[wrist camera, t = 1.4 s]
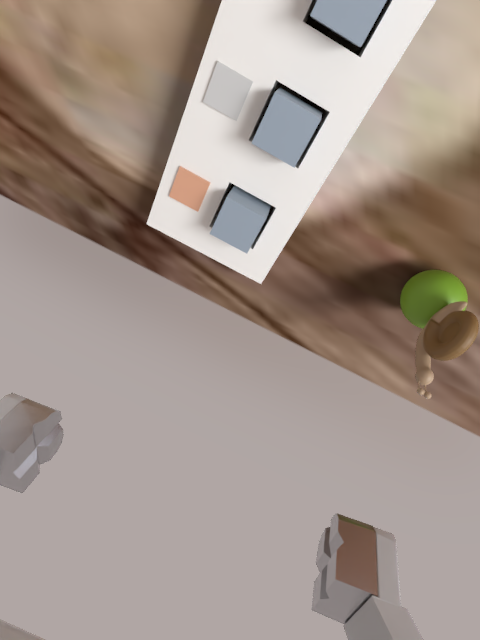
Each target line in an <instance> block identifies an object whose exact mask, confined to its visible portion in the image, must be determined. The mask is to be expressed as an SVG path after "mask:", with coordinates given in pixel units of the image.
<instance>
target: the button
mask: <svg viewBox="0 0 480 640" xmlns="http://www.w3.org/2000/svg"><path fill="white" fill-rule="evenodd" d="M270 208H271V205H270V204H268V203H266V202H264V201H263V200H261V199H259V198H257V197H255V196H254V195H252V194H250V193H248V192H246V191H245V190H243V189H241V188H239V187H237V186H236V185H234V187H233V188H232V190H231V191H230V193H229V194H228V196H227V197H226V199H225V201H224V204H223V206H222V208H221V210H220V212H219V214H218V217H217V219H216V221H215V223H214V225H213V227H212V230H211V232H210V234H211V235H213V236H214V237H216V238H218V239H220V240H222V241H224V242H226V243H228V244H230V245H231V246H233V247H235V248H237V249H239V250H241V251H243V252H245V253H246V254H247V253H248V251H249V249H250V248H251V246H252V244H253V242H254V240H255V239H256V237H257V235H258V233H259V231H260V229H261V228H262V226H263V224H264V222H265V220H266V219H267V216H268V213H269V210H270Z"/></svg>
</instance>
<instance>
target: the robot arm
mask: <svg viewBox="0 0 480 640" xmlns="http://www.w3.org/2000/svg"><path fill="white" fill-rule="evenodd" d="M61 419H62V418H61V412H60V411H58V410H55V409H53V408H50V407H48V406H45V405H42V404H40V403H37V402H34V401H32V400H29V399H27V398H24V397H22V396H19V395H16V394H13V393H11V394H9V395H6V396H4V397H3V398H2V399H1V400H0V485H1V486H4V487H7V488H10V489H12V490H15V491H18V492H20V493H23V492H24V491H25V490H26V488H27V487H28V486H29V485H30V484H31V483H32V481H33V480H34V479H35V478H36V477H37V475H38V474H39V471H40V464H43V463H45V462H47V461H49V460H51V458H52V457H53V456H54V455H55V453H56V452H57V450H58V449H59V447H60V445H61V443H62V439H63V429H62V427H61V426H60V425H59V422H60V421H61ZM316 565H317V567H318V569H319V571H320V574H319V576H318V577H317V578H316V580H315V581H314V590H313V602H312V610H313V611H315V612H317V613H320V614H322V615H324V616H326V617H329V618H331V619H334V620H336V621H338V622H340V623H343V624H345V625H344V629H345V632H346V635H347V638H348V640H423V638H422V636H421V634H420V632H419V630H418V628H417V626H416V625H415V623H414V621H413V619H412V617H411V615H410V613H409V612H408V610H407V609H406V608H404V607H402V606H401V600H400V588H399V574H398V562H397V549H396V539H395V537H394V535H393V534H392V533H389V532H386V531H383V530H381V529H378V528H375V527H373V526H371V525H368V524H365V523H362V522H360V521H357V520H354V519H351V518H348V517H345V516H343V515H339V514H335V515H334V516H333V517H332V519H331V526H330V527H329V528H326V529H325V530H324V532H323V534H322V536H321V539H320V543H319V546H318V552H317V559H316ZM0 640H45V639H42V638H40V637H38V636H36V635H34V634H32V633H29V632H27V631H25V630H23V629H20V628H18V627H16V626H14V625H11V624H9V623H7V622H5V621H3V620H0Z"/></svg>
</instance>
